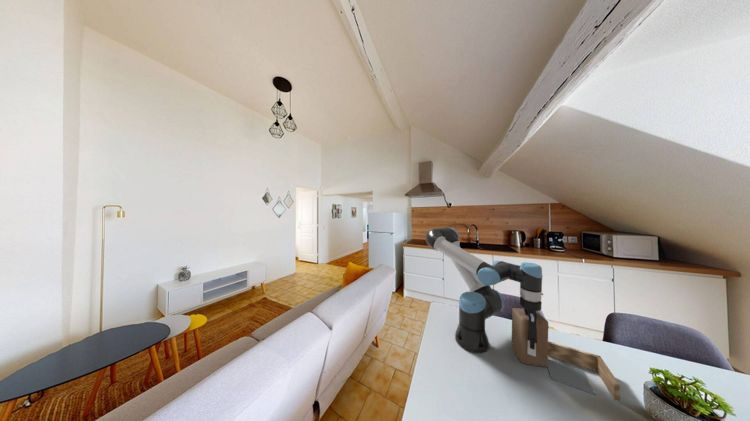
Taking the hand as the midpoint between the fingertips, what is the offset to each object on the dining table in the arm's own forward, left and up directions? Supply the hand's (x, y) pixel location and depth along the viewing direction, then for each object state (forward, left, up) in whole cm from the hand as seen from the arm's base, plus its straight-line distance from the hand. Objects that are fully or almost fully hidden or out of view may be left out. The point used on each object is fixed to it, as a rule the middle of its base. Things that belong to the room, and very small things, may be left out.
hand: (529, 345), depth 87 cm
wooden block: (0, 0, -6) cm, 6 cm away
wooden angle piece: (+15, -1, -5) cm, 16 cm away
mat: (+12, -3, -5) cm, 13 cm away
